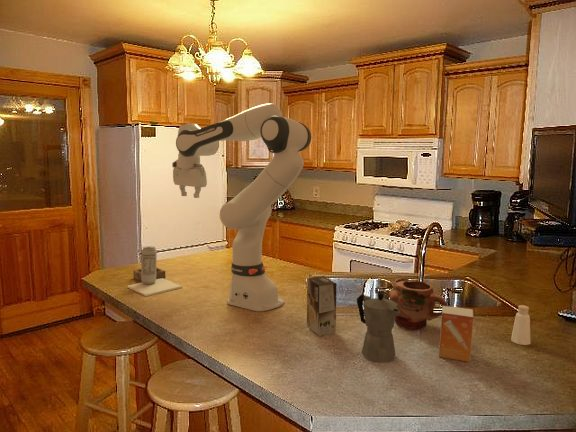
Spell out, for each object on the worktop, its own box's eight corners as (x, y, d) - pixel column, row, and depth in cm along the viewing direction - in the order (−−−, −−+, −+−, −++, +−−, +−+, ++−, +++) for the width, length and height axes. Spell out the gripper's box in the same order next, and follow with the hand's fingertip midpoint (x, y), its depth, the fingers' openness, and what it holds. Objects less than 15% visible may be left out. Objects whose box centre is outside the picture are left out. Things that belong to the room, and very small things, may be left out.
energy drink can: (157, 281, 187) (158, 246, 187) (154, 284, 181) (154, 248, 181) (143, 281, 187) (143, 246, 186) (139, 284, 181) (139, 248, 180)
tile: (182, 287, 181) (182, 286, 181) (146, 296, 170) (145, 294, 169) (162, 279, 192) (162, 278, 192) (127, 287, 181) (127, 285, 181)
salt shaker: (507, 337, 134) (510, 303, 132) (525, 337, 134) (528, 303, 132) (515, 345, 128) (518, 309, 127) (534, 345, 128) (537, 309, 127)
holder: (165, 278, 194) (165, 270, 193) (144, 283, 187) (144, 275, 186) (154, 273, 201) (154, 266, 200) (133, 278, 194) (133, 270, 194)
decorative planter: (452, 327, 141) (455, 286, 139) (440, 340, 131) (442, 296, 129) (394, 313, 153) (396, 275, 151) (379, 324, 143) (380, 283, 141)
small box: (438, 357, 120) (441, 312, 119) (439, 348, 126) (442, 305, 124) (470, 362, 118) (473, 316, 116) (470, 352, 123) (473, 308, 121)
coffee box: (336, 333, 136) (337, 283, 134) (318, 336, 134) (319, 285, 132) (323, 322, 145) (323, 275, 142) (305, 325, 142) (306, 277, 140)
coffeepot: (408, 359, 119) (411, 296, 116) (384, 369, 114) (387, 303, 111) (367, 339, 132) (369, 282, 129) (344, 347, 126) (345, 287, 124)
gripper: (210, 164, 175) (210, 198, 177) (182, 163, 190) (183, 194, 192) (196, 164, 171) (197, 199, 173) (169, 163, 185) (170, 195, 187)
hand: (190, 197), depth 182 cm, fingers open, 8 cm apart
